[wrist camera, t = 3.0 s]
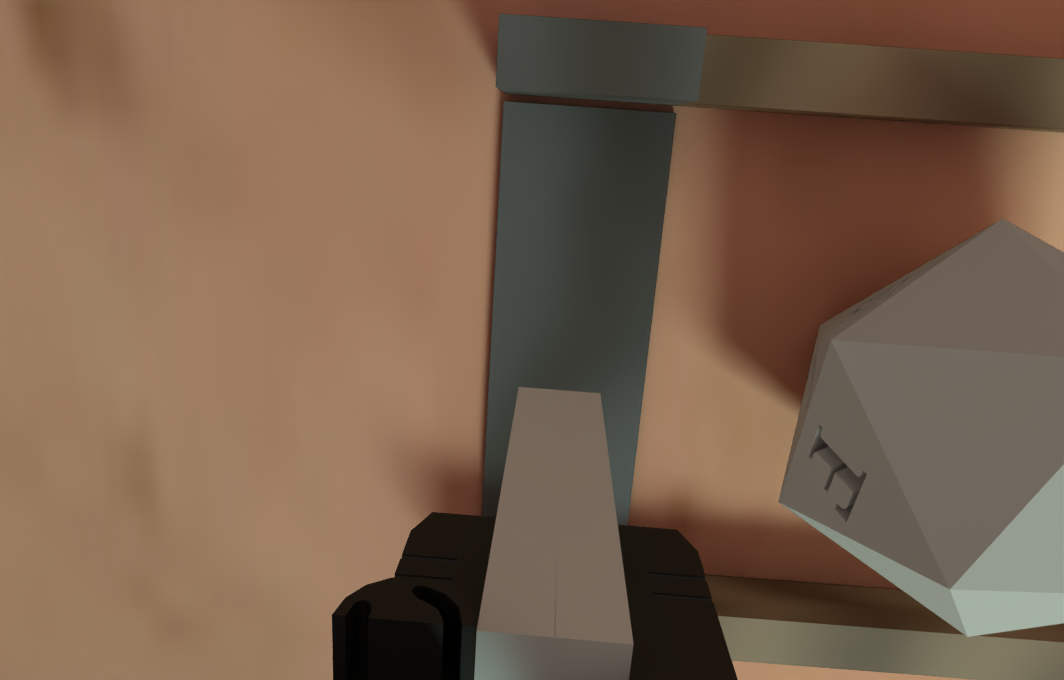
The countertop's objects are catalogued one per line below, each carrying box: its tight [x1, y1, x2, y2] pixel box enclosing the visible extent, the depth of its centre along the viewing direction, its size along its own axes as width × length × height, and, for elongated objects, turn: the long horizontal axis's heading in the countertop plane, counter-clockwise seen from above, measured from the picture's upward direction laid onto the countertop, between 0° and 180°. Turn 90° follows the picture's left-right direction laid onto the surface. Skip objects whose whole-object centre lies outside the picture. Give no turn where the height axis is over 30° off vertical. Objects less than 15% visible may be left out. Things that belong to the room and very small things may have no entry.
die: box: [779, 219, 1064, 637], centre depth 17 cm, size 8×9×10 cm
